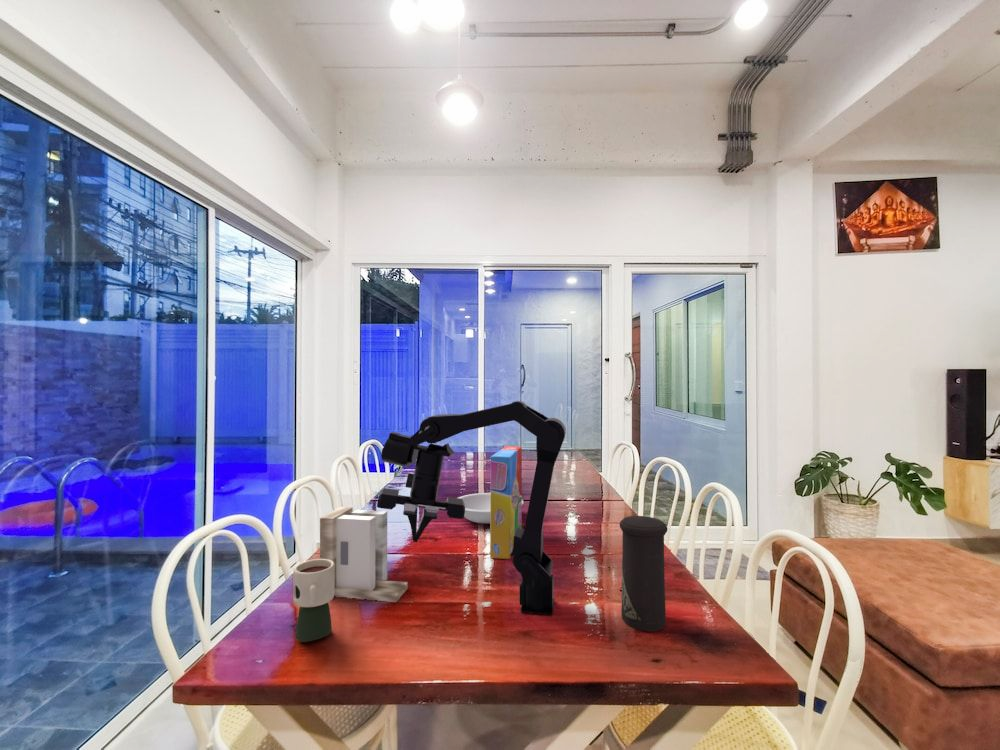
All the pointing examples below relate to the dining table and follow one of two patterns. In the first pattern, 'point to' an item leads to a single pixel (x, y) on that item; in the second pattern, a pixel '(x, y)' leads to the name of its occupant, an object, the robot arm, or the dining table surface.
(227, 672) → the dining table surface
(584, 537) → the dining table surface
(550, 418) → the robot arm
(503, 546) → the game box
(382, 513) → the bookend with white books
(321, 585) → the character mug
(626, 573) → the container
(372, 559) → the door
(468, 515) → the soup bowl
